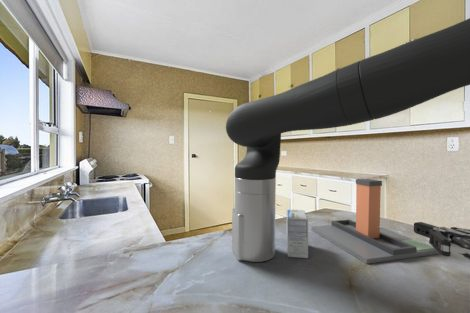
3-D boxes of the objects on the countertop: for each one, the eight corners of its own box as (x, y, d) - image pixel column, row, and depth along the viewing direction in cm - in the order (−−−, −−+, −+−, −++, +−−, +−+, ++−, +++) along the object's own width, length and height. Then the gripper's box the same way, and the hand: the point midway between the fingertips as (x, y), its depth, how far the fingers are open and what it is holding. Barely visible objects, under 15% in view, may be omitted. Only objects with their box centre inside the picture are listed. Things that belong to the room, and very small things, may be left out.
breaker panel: (366, 263, 46) (366, 253, 46) (311, 229, 65) (311, 222, 65) (439, 253, 50) (439, 244, 50) (367, 224, 70) (367, 217, 70)
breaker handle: (368, 239, 55) (369, 181, 55) (354, 232, 59) (355, 179, 59) (380, 237, 56) (382, 181, 56) (366, 231, 60) (367, 178, 60)
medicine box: (308, 259, 48) (309, 219, 47) (287, 257, 48) (287, 218, 48) (304, 244, 55) (304, 209, 55) (286, 242, 56) (286, 208, 56)
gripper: (584, 237, 30) (440, 206, 47) (520, 247, 27) (390, 210, 44) (582, 291, 31) (440, 241, 47) (518, 307, 27) (390, 248, 44)
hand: (416, 226), depth 46 cm, fingers closed
